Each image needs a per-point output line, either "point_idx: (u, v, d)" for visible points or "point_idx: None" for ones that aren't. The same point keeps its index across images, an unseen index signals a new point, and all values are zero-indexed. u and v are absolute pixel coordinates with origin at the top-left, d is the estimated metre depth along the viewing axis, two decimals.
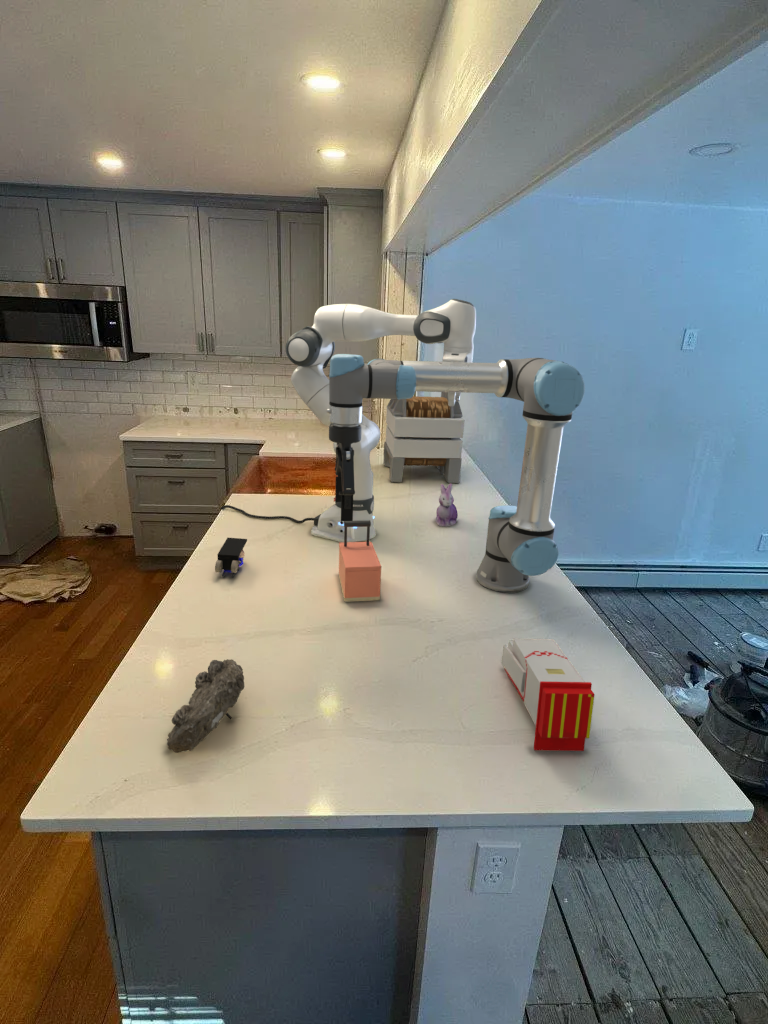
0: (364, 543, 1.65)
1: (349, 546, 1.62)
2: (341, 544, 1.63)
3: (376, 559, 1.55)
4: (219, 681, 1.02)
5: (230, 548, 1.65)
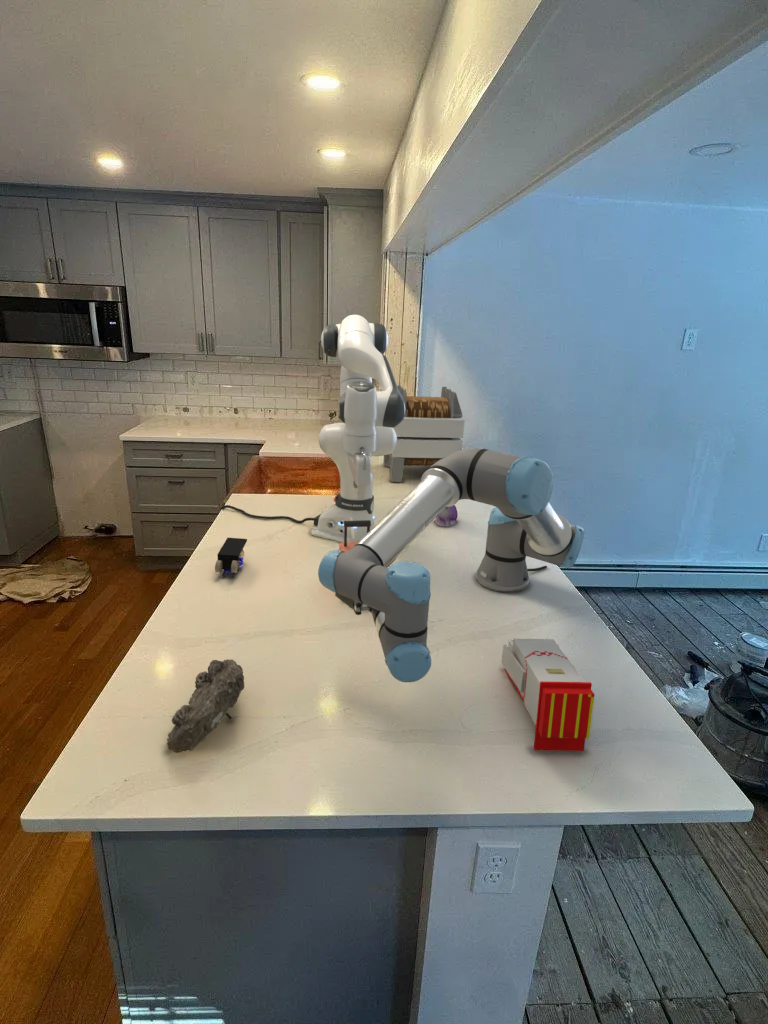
0: None
1: (349, 546, 1.62)
2: (341, 544, 1.63)
3: None
4: (219, 681, 1.02)
5: (230, 548, 1.65)
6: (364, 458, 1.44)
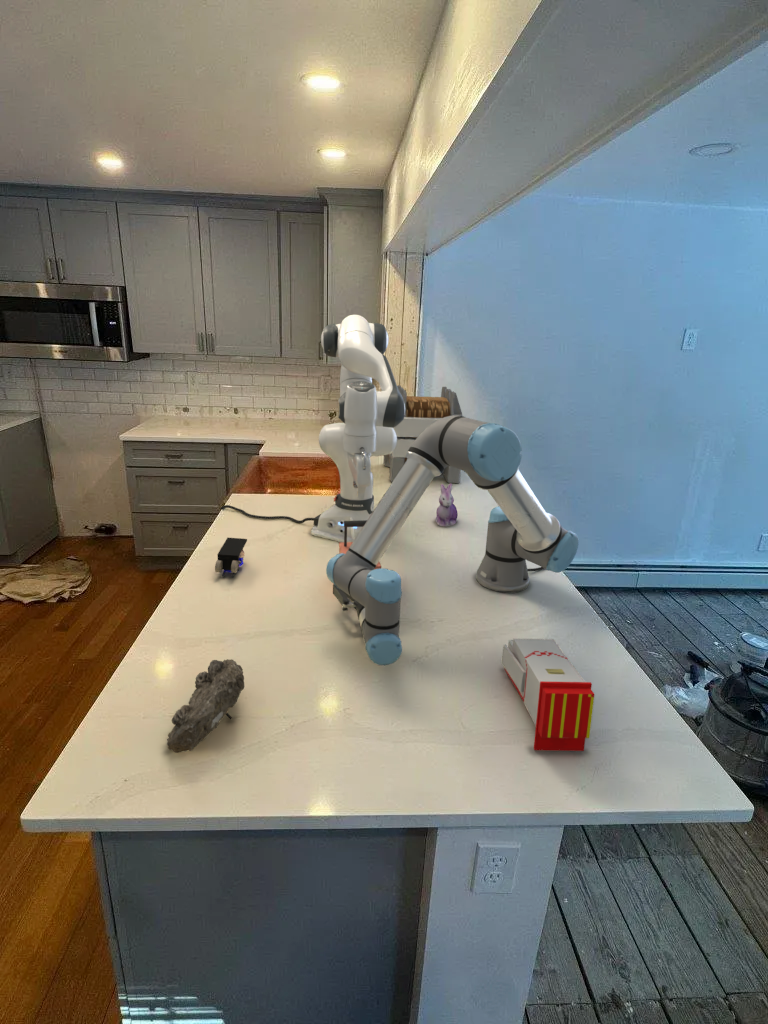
0: None
1: (349, 546, 1.62)
2: (341, 544, 1.63)
3: None
4: (219, 681, 1.02)
5: (230, 548, 1.65)
6: (364, 458, 1.44)
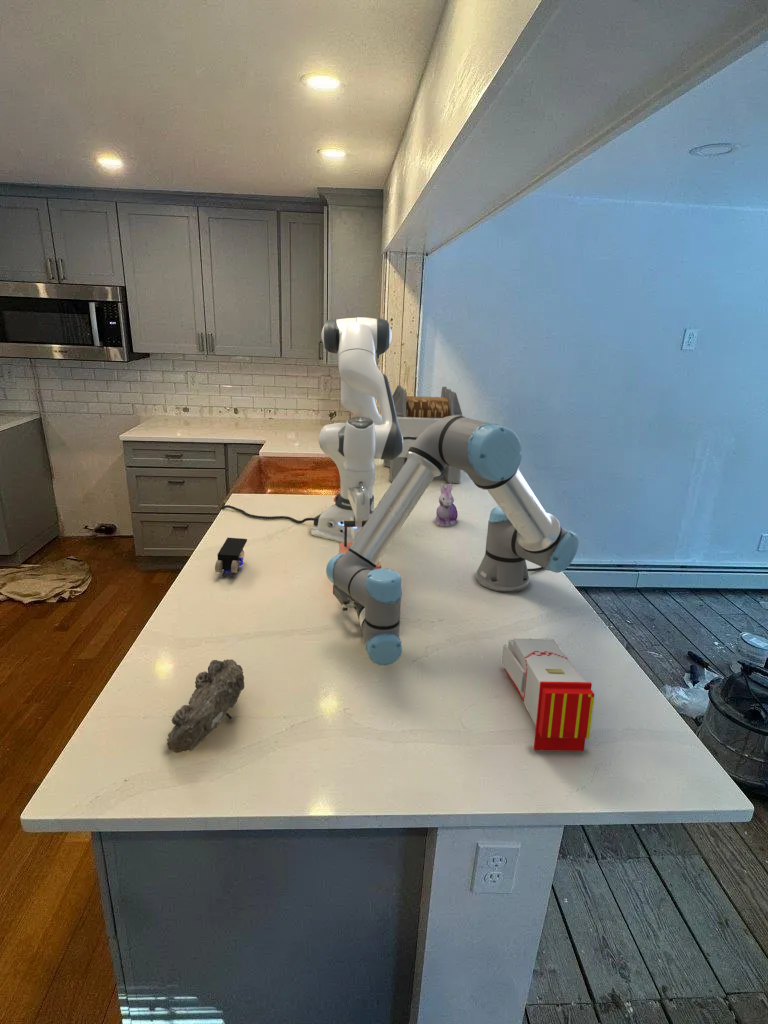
0: None
1: (349, 546, 1.62)
2: (341, 544, 1.63)
3: None
4: (219, 681, 1.02)
5: (230, 548, 1.65)
6: (363, 493, 1.47)
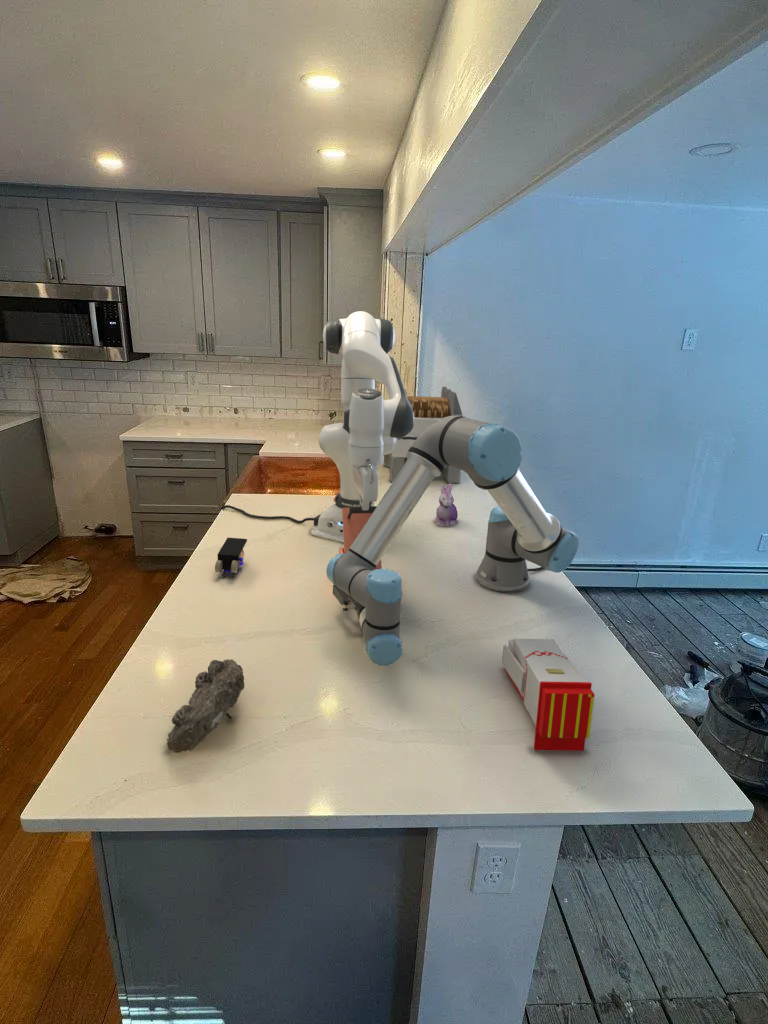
0: None
1: (353, 519, 1.53)
2: (344, 513, 1.53)
3: None
4: (219, 681, 1.02)
5: (230, 548, 1.65)
6: (371, 471, 1.33)
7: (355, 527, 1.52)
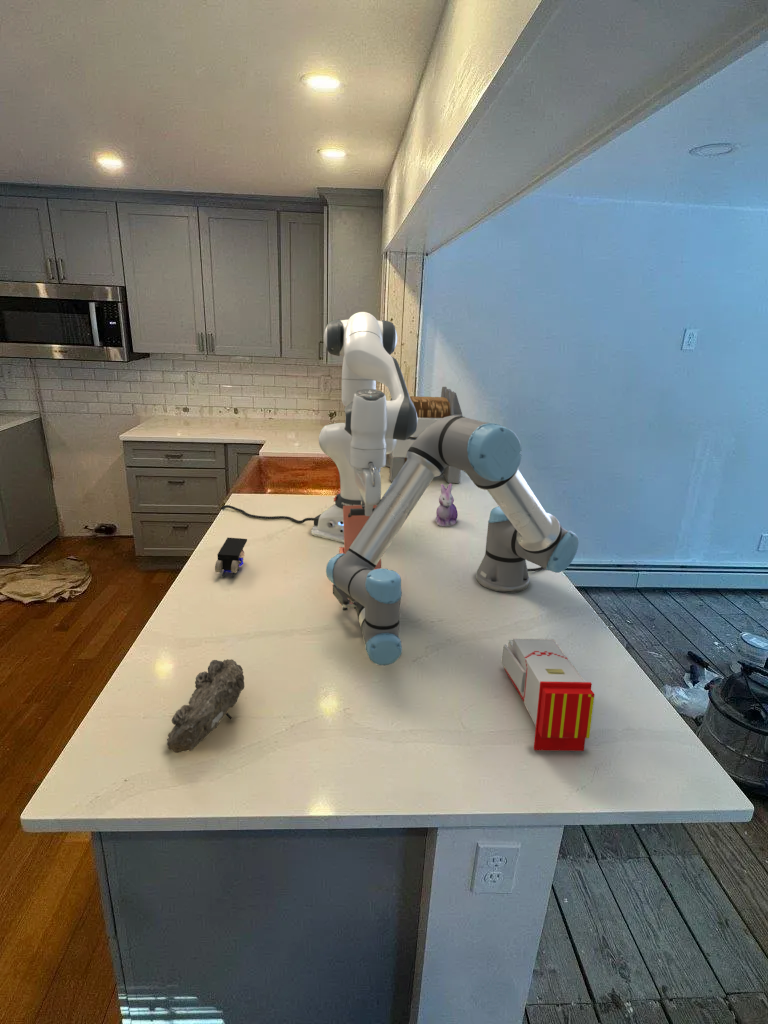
0: None
1: (354, 518, 1.51)
2: (345, 511, 1.51)
3: None
4: (219, 681, 1.02)
5: (230, 548, 1.65)
6: (373, 474, 1.30)
7: (356, 526, 1.51)
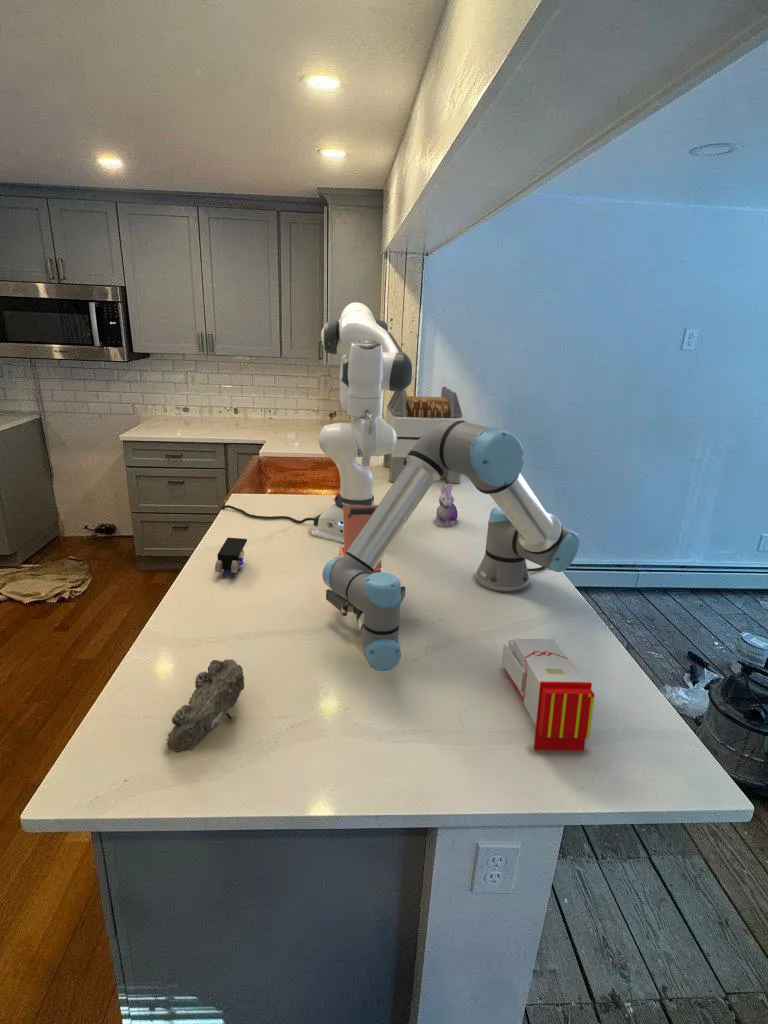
0: None
1: (353, 518, 1.51)
2: (345, 511, 1.51)
3: None
4: (219, 681, 1.02)
5: (230, 548, 1.65)
6: (370, 420, 1.33)
7: (356, 526, 1.51)
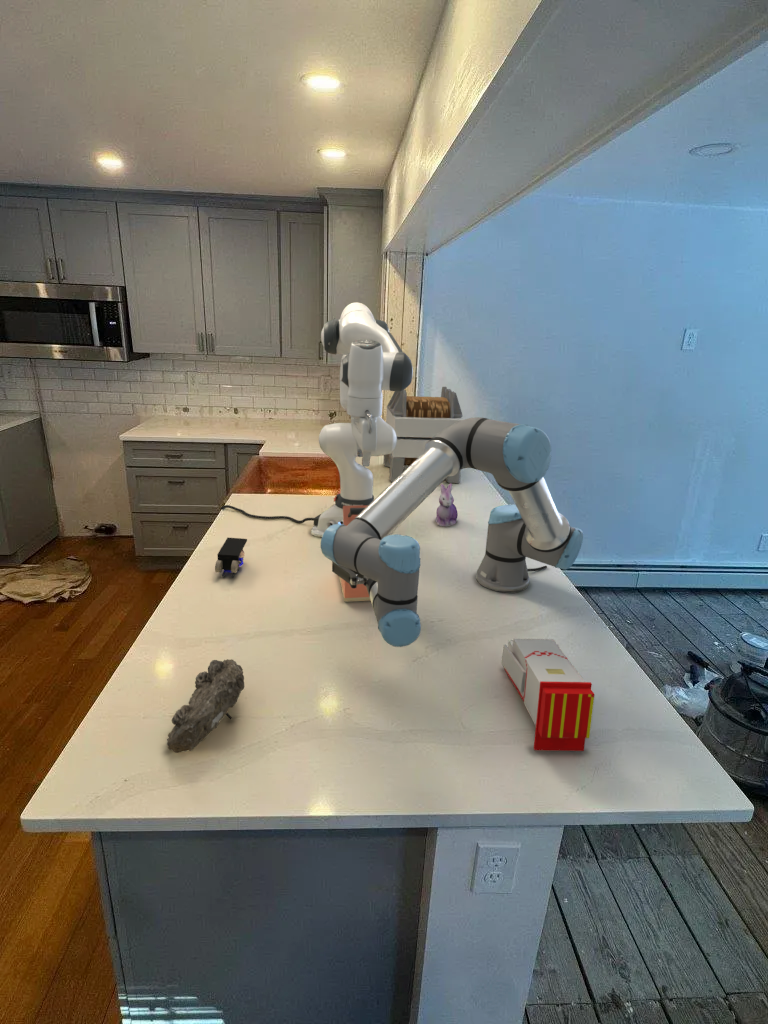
0: None
1: (353, 518, 1.51)
2: (345, 511, 1.51)
3: None
4: (219, 681, 1.02)
5: (230, 548, 1.65)
6: (370, 420, 1.33)
7: None
